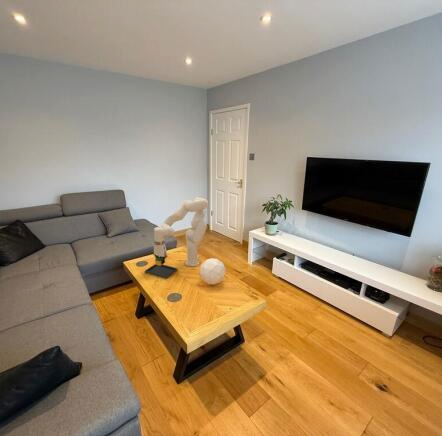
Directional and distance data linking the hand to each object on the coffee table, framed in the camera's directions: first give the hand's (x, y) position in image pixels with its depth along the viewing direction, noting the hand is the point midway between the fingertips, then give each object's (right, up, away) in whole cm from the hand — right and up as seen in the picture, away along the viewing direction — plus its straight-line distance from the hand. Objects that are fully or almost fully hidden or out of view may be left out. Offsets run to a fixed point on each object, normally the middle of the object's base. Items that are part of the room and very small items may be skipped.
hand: (160, 262), depth 192 cm
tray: (0, -8, +2) cm, 8 cm away
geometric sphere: (+43, -13, -13) cm, 46 cm away
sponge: (0, -1, 0) cm, 1 cm away
